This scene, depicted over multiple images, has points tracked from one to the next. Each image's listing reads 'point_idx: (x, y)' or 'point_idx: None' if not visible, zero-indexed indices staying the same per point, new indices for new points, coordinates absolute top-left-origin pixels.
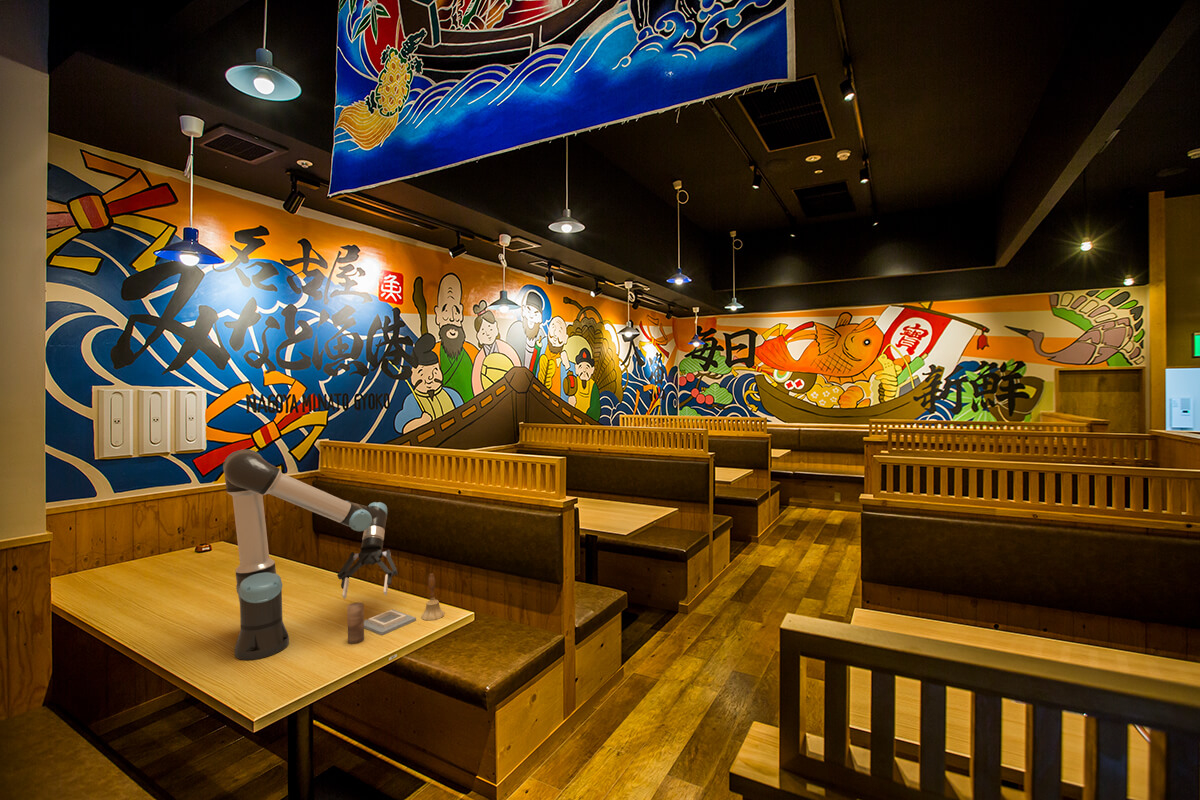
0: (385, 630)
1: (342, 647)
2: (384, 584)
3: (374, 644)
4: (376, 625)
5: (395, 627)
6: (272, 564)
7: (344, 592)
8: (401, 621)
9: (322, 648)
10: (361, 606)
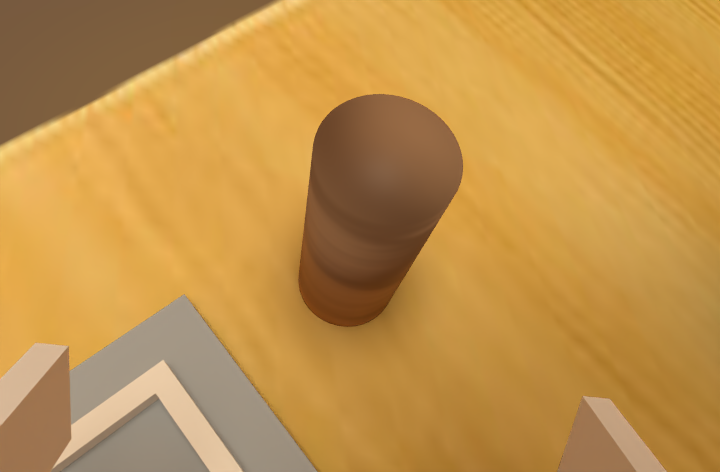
0: (156, 318)
1: None
2: (2, 422)
3: (231, 192)
4: (223, 439)
5: (80, 366)
6: None
7: (606, 422)
8: None
9: (516, 244)
10: (325, 118)
